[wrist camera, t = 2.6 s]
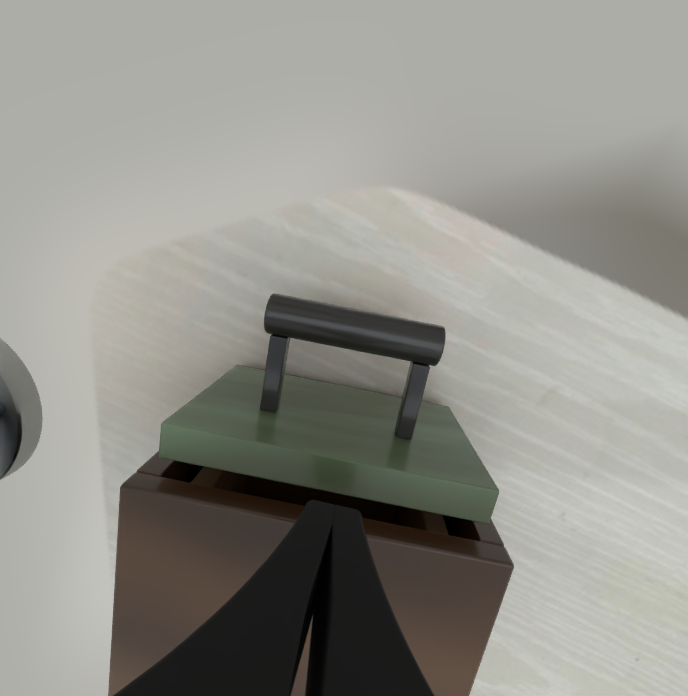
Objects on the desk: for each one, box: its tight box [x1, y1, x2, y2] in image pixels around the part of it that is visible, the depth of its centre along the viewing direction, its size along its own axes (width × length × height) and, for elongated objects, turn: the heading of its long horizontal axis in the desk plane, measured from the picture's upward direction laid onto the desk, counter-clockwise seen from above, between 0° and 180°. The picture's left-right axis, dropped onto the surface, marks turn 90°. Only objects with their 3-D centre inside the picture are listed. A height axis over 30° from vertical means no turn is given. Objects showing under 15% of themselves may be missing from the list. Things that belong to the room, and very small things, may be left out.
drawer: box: [159, 293, 499, 535], centre depth 15 cm, size 16×10×7 cm, turn 169°
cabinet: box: [108, 451, 514, 696], centre depth 16 cm, size 13×12×9 cm
